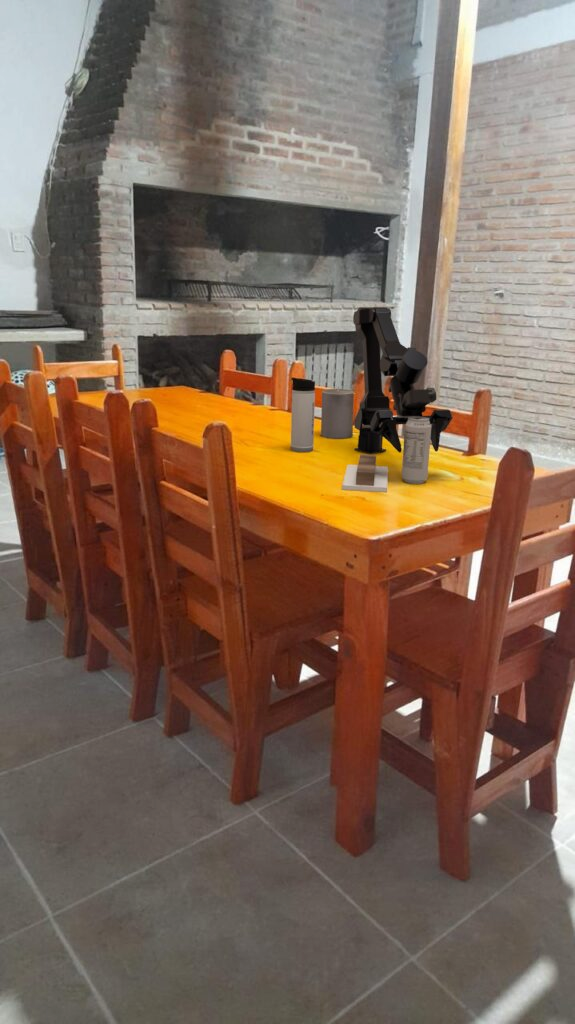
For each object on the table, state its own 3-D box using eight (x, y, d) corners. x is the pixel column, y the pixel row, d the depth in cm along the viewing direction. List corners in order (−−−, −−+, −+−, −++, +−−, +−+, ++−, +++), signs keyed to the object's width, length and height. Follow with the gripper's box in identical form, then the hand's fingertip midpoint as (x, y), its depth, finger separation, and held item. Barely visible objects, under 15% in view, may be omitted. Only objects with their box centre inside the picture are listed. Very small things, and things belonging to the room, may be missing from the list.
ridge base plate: (347, 468, 180) (347, 464, 180) (387, 470, 179) (387, 466, 179) (342, 489, 161) (342, 485, 161) (386, 492, 160) (387, 487, 160)
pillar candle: (334, 431, 227) (336, 383, 222) (359, 436, 220) (360, 387, 216) (314, 436, 220) (315, 386, 216) (338, 440, 214) (339, 390, 209)
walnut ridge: (359, 466, 179) (360, 454, 178) (375, 467, 178) (376, 455, 177) (355, 484, 162) (356, 471, 161) (373, 485, 161) (374, 472, 160)
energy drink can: (431, 481, 170) (436, 418, 166) (418, 485, 166) (423, 421, 161) (409, 476, 174) (414, 415, 169) (396, 481, 170) (400, 418, 165)
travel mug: (286, 448, 202) (287, 376, 196) (307, 447, 204) (309, 375, 198) (295, 453, 196) (296, 379, 190) (316, 451, 199) (319, 378, 193)
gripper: (377, 375, 164) (390, 432, 157) (453, 374, 168) (469, 430, 161) (364, 404, 174) (376, 459, 167) (436, 403, 178) (451, 457, 171)
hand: (418, 451), depth 166 cm, fingers open, 9 cm apart
